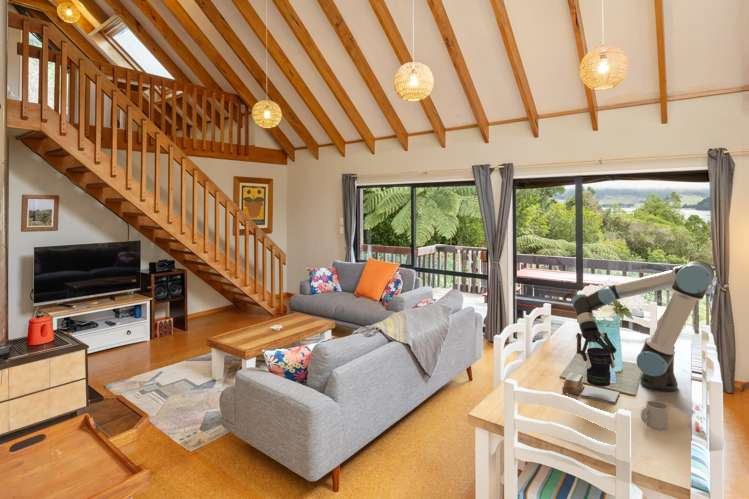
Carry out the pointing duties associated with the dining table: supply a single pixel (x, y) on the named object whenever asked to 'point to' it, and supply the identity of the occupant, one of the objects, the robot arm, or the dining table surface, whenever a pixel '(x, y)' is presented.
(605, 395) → the slate board
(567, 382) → the brown wooden block
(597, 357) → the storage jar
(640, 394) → the dining table surface
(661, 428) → the cup
